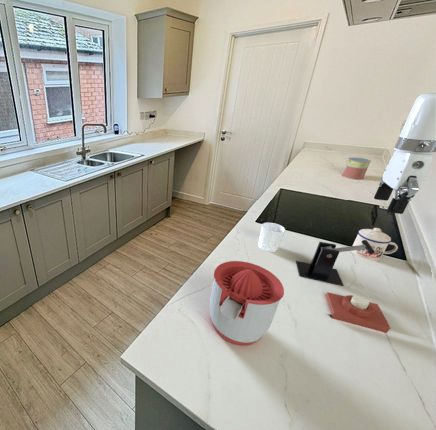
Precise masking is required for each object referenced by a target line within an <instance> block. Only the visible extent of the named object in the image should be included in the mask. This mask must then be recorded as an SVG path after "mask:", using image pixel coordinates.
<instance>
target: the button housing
mask: <svg viewBox="0 0 436 430" xmlns="http://www.w3.org/2000/svg"><path fill="white" fill-rule="evenodd" d="M353 296H354V295H351V294H350V295H349V294H348V295H342V294H338V293H337V294H336V293H333V292H328V291H327V292H326V294H325V298H326V300H327V304H328V306H329V309H330V312H331V313H330V318H331V319H332V320H337V321H340V322H344V323H347V324H351V325H354V326H358V327H363V328H367V329H370V330H372V331H373V330H374V331H378V332H381V333H384V334H387V333H388V332H389V330H390V329H391V326H390V324H389V322H388V320H387V318H386V317H385V315H384V313H383V311H382V310H381V308H380V306H379V304H378V303H375V302H371V301H368V302H369V305H368V307H367V309H360V308H357V307H355V306H353V305H352V304H351V303H350V301H351V299H352V297H353Z"/></svg>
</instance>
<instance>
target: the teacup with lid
mask: <svg viewBox="0 0 436 430" xmlns="http://www.w3.org/2000/svg"><path fill="white" fill-rule="evenodd" d="M363 240H367V241H368V243H369V244H370V245H371V247H372V248H373V250H374V251H375V252H374V253H373V254H370V253H368V251H367V250H366V249H363V250H354V251H350V252H351V253H353V254H354V255H356V256H358V257H360V258H362V259H366V260H371V261H379V260H381V258H382V257H383V255H391V254H393V253H395V252H397V251H398V249H399V246H398V244H396V242H394V241H392V237H391V236H389V235H388V234H386V233H385V232H383V231H382V229H381V228H379V227H373V228H361V229H360V230H358V231H357V236H356V238H355V239H354V242H353V244H352V246H359V245H363V244H362V241H363ZM389 245H391V246H393V248H392V249H390V250H387V248H388V246H389ZM386 250H387V251H386Z"/></svg>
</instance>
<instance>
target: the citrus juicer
mask: <svg viewBox="0 0 436 430" xmlns="http://www.w3.org/2000/svg"><path fill="white" fill-rule="evenodd" d="M284 288H285V287H284V286H283V283H282V282H281V280H280V279H279V278H278V276H276V275H275V274H274V273H273V272H271V271H269V270H268V269H266V268H264V267H263V266H260V265H258V264H255V263H251V262H248V261H241V260H230V261H224V262H222V263H220V264H219V265H217V266H216V268H215V269H214V271H213V281H212V286H211V292H210V297H209V314H210V320H211V323H212V326H213V328H214V330H215V333H217V334H218V335H219V336H220V337H221V338H222V339H223V340H225V341H227V342H228V343H230V344H232V345H235V346H241V347H243V346H244V347H245V346H250V345H253V344H255V343H256V342H258V341H260V340H261V338H262V337H263V336H264V335H265V334H266V333H267V332H268V330H269V329H270V327H271V325H272V323H273V321H274V318H275V315H276V312H277V309H278V306H279V303H280V301H281V299H283V297H284V294H285V289H284Z"/></svg>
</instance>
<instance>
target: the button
mask: <svg viewBox="0 0 436 430" xmlns="http://www.w3.org/2000/svg"><path fill="white" fill-rule="evenodd" d="M369 302H370V301H369V300H368V299H367V298H364V297H363V296H360V295H353V297H352V299H351V301H350V303H351V304H352V305H353V306H355V307H357V308H360V309H367V307H368V305H369Z"/></svg>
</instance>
